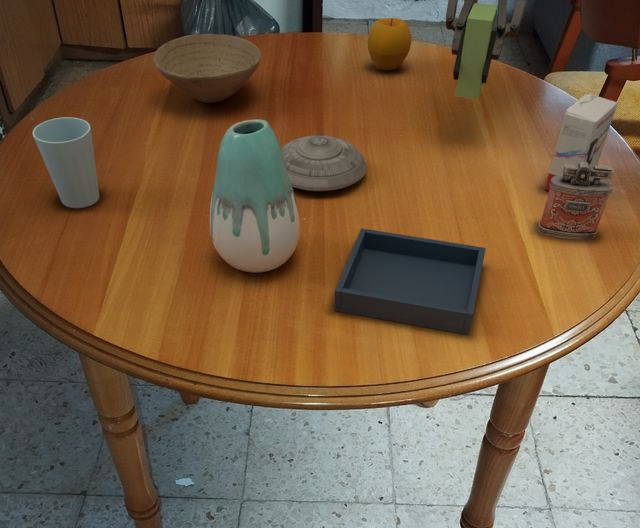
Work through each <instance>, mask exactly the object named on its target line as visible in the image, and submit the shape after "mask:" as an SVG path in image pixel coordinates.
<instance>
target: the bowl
mask: <svg viewBox="0 0 640 528" xmlns="http://www.w3.org/2000/svg"><path fill="white" fill-rule="evenodd" d="M261 61H262V51H261V50H260V49H259V47H258V46H257V45H256V44H255V43H253V42H251V41H250V40H248V39H245V38H243V37H240V36H237V35H231V34H225V33H224V34H214V33H201V34H197V33H196V34H189V35H183V36H181V37H177V38H175V39H171V40H169V41H167V42H165V43H164V44H162V45H160V46H159V47H158V48H157V49H156V51H154V55H153V64H154V66H155V68H156V69H157V71H158V72H159V73H160V74H161V75H162V76H163V77H164V78H166V79H167V80H168V81H169V82H170V83H172V84H173V85H174V86H176V87H177V88H179V89H180V90H181V91H182V92H184V94H186V95H187V96H188V97H189V98H191V99H193V100H196V101H198V102H201V103H204V104H206V103H207V104H210V103H218V102H222V101H224V100H226V99H228V98H229V97H231V96H233V95H234V94H235V93H237V92H239V90H240V89H241V88H242V87H243V86H244V84H245V83H246V82H247V81H248V80H249V79H250V78H251V77H252V76H253V75H254V73H255V72H256V70H257V69H258V67H259V65H260V63H261Z"/></svg>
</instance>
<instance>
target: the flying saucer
mask: <svg viewBox="0 0 640 528" xmlns="http://www.w3.org/2000/svg"><path fill="white" fill-rule="evenodd" d="M281 151H282V154H283V158H284V162H285V166H286V170H287V174H288V177H289V180H290V183H291V185H292V188H295V189H297V190H298V189H299V190H303V191H309V192H329V191H335V190H340V189H344V188H347V187H349V186H352V185H354V184H356V183H358V181H360V180H361V179H363V177H364V176H365V174H366V173H367V171H368V163H367V160H366V158H365V157H364V155H363V154H362V153H361V151H360V150H359V149H358V148H357V147H356V146H354V145H353V143H352V144H351V143H350V142H349V141H347V140H344V139H342V138H339V137H335V136H332V135H326V134H312V135H305V136H301V137H298V138H295V139H293V140H290V141H289V142H287V143H285V144H284V145H283V146H282V147H281Z"/></svg>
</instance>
